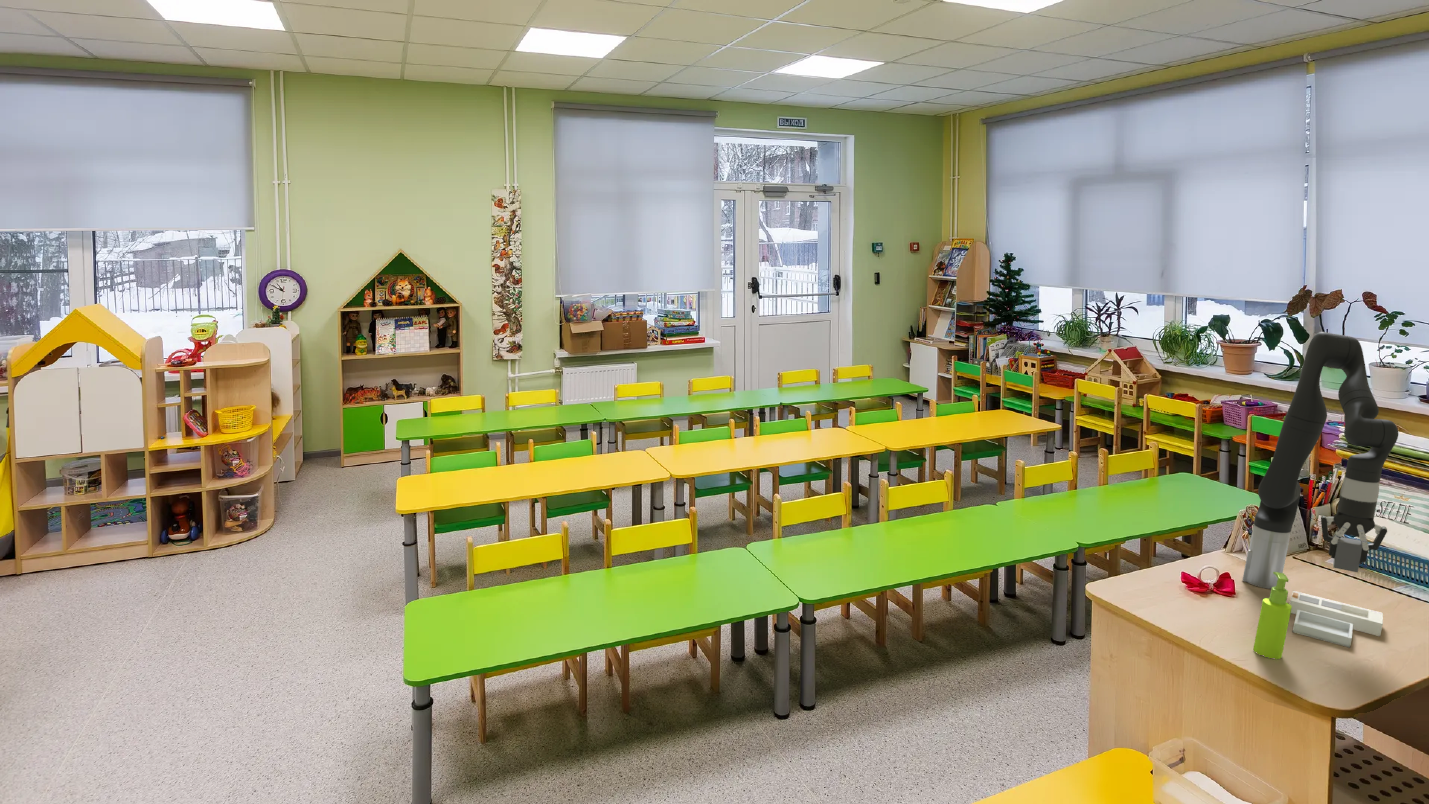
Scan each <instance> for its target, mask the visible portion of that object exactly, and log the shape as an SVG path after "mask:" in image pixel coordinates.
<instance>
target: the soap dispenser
mask: <svg viewBox="0 0 1429 804" xmlns="http://www.w3.org/2000/svg"><path fill="white" fill-rule="evenodd" d="M1273 574H1275V575H1276V577H1277V578H1278V580H1277V585H1276V586H1275V587H1272V588H1271V589H1270V595H1269V597H1265V598H1263V599H1262V601H1261V608H1260V612H1259V617H1258V623H1257V627H1256V634H1255V638H1254V643H1253V650H1254V651H1255V652H1257V653H1258V654H1260V655H1264V656H1265V657H1264V658H1266V657H1269V658H1268V659H1270V658H1275V659H1274V660H1281V659H1282V657H1283V654H1284V646H1285V643H1286V642H1285V641H1286V637H1287V633H1288V632H1287V631H1288V627H1289V622H1290V619H1291V618H1290V617H1291V614H1292V613H1291V608H1292V606H1291V605H1290V603H1289V602H1287V599H1288V594H1289V590H1287V588H1285V587H1286V583H1289V580H1290V579H1288V577H1287V575H1286V574H1285V573H1284V572H1283V573H1279V572H1273ZM1253 650H1252V651H1253ZM1254 651H1253V652H1254ZM1255 652H1254V653H1255ZM1257 653H1256V654H1257ZM1258 654H1257V655H1258ZM1260 655H1259V656H1260Z"/></svg>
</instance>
